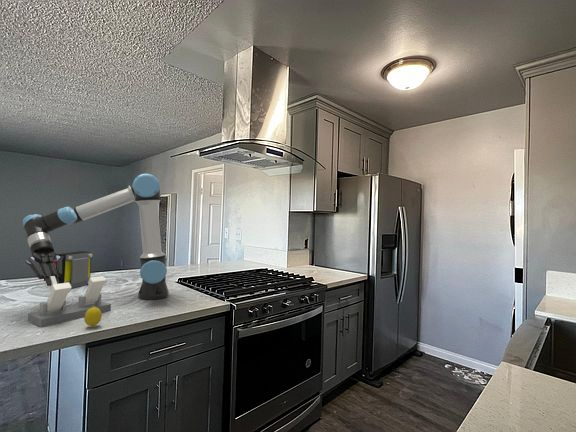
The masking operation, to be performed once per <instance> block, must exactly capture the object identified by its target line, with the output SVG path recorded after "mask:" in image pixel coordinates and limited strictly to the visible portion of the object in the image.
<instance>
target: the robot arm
mask: <svg viewBox="0 0 576 432" xmlns="http://www.w3.org/2000/svg"><path fill="white" fill-rule="evenodd" d="M160 183H161V182H160V181H159V179H158V177H156V176H155V175H154V174H151V173H141V174H138V175H137V176H136V177H135V178H134V180H133V181H132V184H130V185H128V187H127V188H124V189H121V190H118V191H115V192H113V193H111V194H108V195H105V196H102V197H100V198H97V199H94V200H92V201H89V202H86V203H83V204H81V205H77V206H76V207H71V206H65V207H61V208H59V209H57V210H55V211H52V212H50V213H47V214H45V215H41V214H39V213H38V214H37V213H33V214H29V215H27V216H25V217H24V218H23V220H22V225H23V228H22V229H23V230H24V233H25V235H26V239H27V243H28V247H29V250H30V253H31V254H30V255H31V257H27V258H26V261H25V264H27V265H28V266H29V267H30V268H31V270H32V271H33V272H34V274H35V276H36V277H37V278H38V280H43V282H45V283H46V286H47V287H49V288H50V289H51V287H52V285H53V284H58V283H59V280H58V277H60V276H61V274H62V259H63V258H64V256H61V257H60V256H57V254H58V253H56V252H55V248H54V246H53V243H52V238H51V237H50V234H49V233H50V232H53V231H54V230H55V231H56V230H58V229H60V228H62V227H72V226H75V225H77V224H79V223H82V222H83V221H86V220H89V219H91V218H94V217H96V216H99V215H103V214H104V213H107V212H111V211H112V210H114V209H118V208H120V207H122V206H126V205H128V204H130V203H133V202H135V203H136V204H137V205H138V208H139V210H138V211H139V221H140V233H141V244H142V245H141V246H142V247H141V248H142V254H141V255H140V256H139V263H140V271H139V276H140V278H141V279H142V281H141V286H139V290H138V293H137V298H138V299H140V300H144V301H145V300H146V301H152V300H161V299H165V298H167V297H169V292H170V291H169V288H168V286H167V282H166V280H167V278H166V276H167V273H168V269H167V260H168V257H167V254H166V253H165V252H163V251H162V241H161V240H162V239H161V229H160V228H161V227H160V214H159V203H160V202H161V199H162V198H161V184H160ZM55 258H56V260H55ZM54 261H57V271H56V265H55V263H54Z"/></svg>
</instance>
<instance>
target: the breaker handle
mask: <svg viewBox="0 0 576 432" xmlns="http://www.w3.org/2000/svg"><path fill="white" fill-rule="evenodd" d="M106 283H107V279H106V277H105V276H104V275H100V276H99V275H98V276H92V277H90V279H89V281H88V285H87V288H86V290H85V293H84V295H83V296H85V304H88V303H93V302H97V300H98V297H99V295H100V293H101V292H102V289H103V287H104V286H105V284H106Z"/></svg>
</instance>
